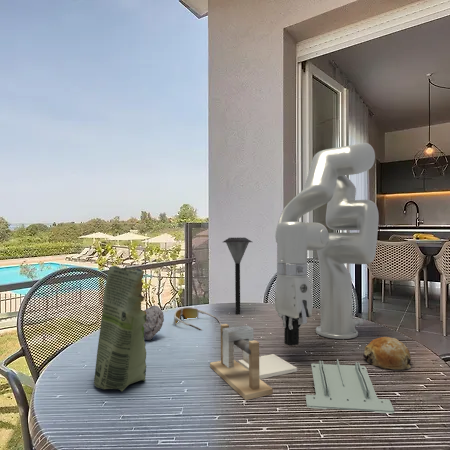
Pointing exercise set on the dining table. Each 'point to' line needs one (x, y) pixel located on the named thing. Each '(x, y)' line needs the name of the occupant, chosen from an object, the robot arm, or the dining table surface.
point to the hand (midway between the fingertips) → (291, 344)
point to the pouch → (121, 331)
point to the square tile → (271, 366)
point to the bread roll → (388, 354)
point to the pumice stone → (153, 322)
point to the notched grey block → (228, 342)
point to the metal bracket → (345, 389)
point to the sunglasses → (189, 315)
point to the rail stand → (243, 371)
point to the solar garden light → (237, 262)
